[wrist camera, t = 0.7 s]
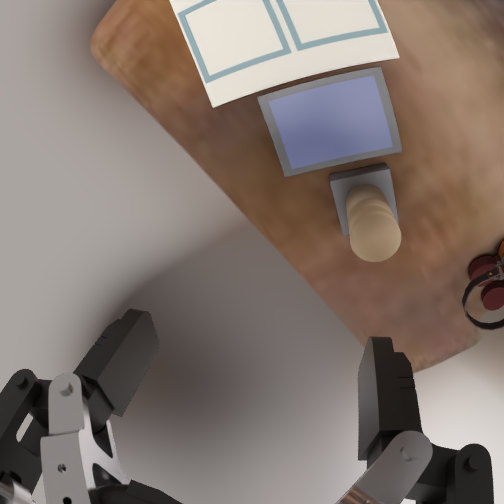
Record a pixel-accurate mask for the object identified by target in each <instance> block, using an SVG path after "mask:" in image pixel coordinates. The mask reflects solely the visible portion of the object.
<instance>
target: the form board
mask: <svg viewBox="0 0 504 504" xmlns="http://www.w3.org/2000/svg"><path fill="white" fill-rule="evenodd" d="M169 1H170V3H171V5H172V8H173V10H174V13H175V15H176V17H177V20H178V22H179V25H180V27H181V29H182V32H183V34H184V37H185V39H186V42H187V44H188V47H189V49H190V51H191V54H192V56H193V59H194V61H195V64H196V66H197V69H198V71H199V74H200V76H201V79H202V81H203V84H204V86H205V89H206V91H207V94H208V96H209V99H210V101H211V104H212V106H213V108H214V107H217V106H219V105H222V104H225V103H227V102H230V101H232V100H235V99H238V98H241V97H243V96H246V95H249V94H252V93H255V92H258V91H261V90H264V89H267V88H270V87H273V86H277V85H280V84H283V83H286V82H290V81H293V80H297V79H300V78H304V77H308V76H312V75H316V74H320V73H324V72H328V71H332V70H336V69H341V68H345V67H350V66H355V65H360V64H366V63H371V62H377V61H383V60H390V59H397V58H400V57H399V54H398V51H397V49H396V46H395V43H394V40H393V37H392V35H391V32H390V30H389V27H388V24H387V22H386V20H385V17H384V15H383V12H382V10H381V8H380V5H379V3H378V1H377V0H169Z"/></svg>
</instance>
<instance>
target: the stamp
mask: <svg viewBox="0 0 504 504" xmlns="http://www.w3.org/2000/svg"><path fill="white" fill-rule="evenodd" d="M329 179H330V185H331V189H332V192H333V196H334V200H335V204H336V208H337V212H338V216H339V220H340V224H341V229H342V233H343V236H346V235H350V243H351V247H352V250H353V251H354V253H355V254H356V255H357V256H358V257H359V258H361V259H363V260H365V261H369V262H380V261H384V260H386V259H388V258H390V257H391V256H392V255H393V254H394V253H395V252H396V251H397V250H398V248H399V246H400V242H401V232H400V229H399V227H398V225H399V223H398V215H397V208H396V202H395V196H394V190H393V184H392V178H391V173H390V169H389V167H388V166H387V165H386V163H381V164H376V165H371V166H366V167H362V168H357V169H352V170H347V171H343V172H338V173H334V174H329Z"/></svg>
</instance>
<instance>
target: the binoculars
mask: <svg viewBox="0 0 504 504" xmlns="http://www.w3.org/2000/svg"><path fill="white" fill-rule="evenodd" d="M497 261H500V262H501V263H502V264H497ZM498 266H501V268H502V270H503V272H504V241H503V242H502V244H501V246H500V249H499V253H498V256H495V257H494V258H493V257H481V258H479V259H477V260H475V261H474V262H473V263H472V264H471V265H470V267H469V270H468V273H469V276H470V279H471V282H470V283H469V285H468V286H467V287H466V289H465V293H464V296H463V299H462V303H463V307H464V311H465V315H466V317H467V319H468V320H469V321H470V322H471V323H472V324H473V325H474V326H476V327H478V328H480V329H483V330H495V329H500V328H503V327H504V319H503V320H501V321H499V322H494V323H482V322H479V321H477V320H475V319H473V318H472V317H471V316H470V315H469V314H468V313H467V311H466V310H465V305H466V302H467V299H468V296H469V294H470V293H471V292H472V290H473V289H474V288H475V287H476V286H479V287H480V286H485V285H487V284H488V285H487V286H486V287H485V288H484V289H483V292H482V301H483V305H484V307H485V308H486V309H488V310H492V311H493V310H497V309H499V308H501V307H502V306H503V305H504V283H503V282H492V281H493V280H494V279H495V278H498V279H499V280H502V279H503V278H504V276H502V277H501V278H500V275H501V274H500V272H499V267H498ZM490 282H492V283H490ZM489 283H490V284H489Z"/></svg>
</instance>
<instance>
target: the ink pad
mask: <svg viewBox="0 0 504 504" xmlns="http://www.w3.org/2000/svg"><path fill="white" fill-rule="evenodd" d="M257 99H258V102H259V104H260V107H261V110H262V113H263V115H264V118H265V121H266V123H267V126H268V129H269V132H270V135H271V137H272V140H273V143H274V146H275V149H276V152H277V155H278V157H279V160H280V163H281V166H282V169H283V172H284V175H285V177H289V176H293V175H297V174H301V173H305V172H309V171H313V170H317V169H322V168H326V167H330V166H335V165H339V164H344V163H348V162H353V161H358V160H363V159H367V158H372V157H377V156H382V155H388V154H393V153H398V152H403V150H402V146H401V141H400V136H399V132H398V127H397V123H396V119H395V115H394V111H393V107H392V104H391V100H390V96H389V93H388V89H387V86H386V83H385V79H384V76H383V73H382V70H381V67H375V68H369V69H364V70H358V71H353V72H349V73H344V74H339V75H335V76H331V77H326V78H322V79H318V80H314V81H311V82H307V83H303V84H299V85H296V86H292V87H289V88H285V89H282V90H279V91H276V92H272V93H269V94H266V95H263V96H260V97H257Z"/></svg>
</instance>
